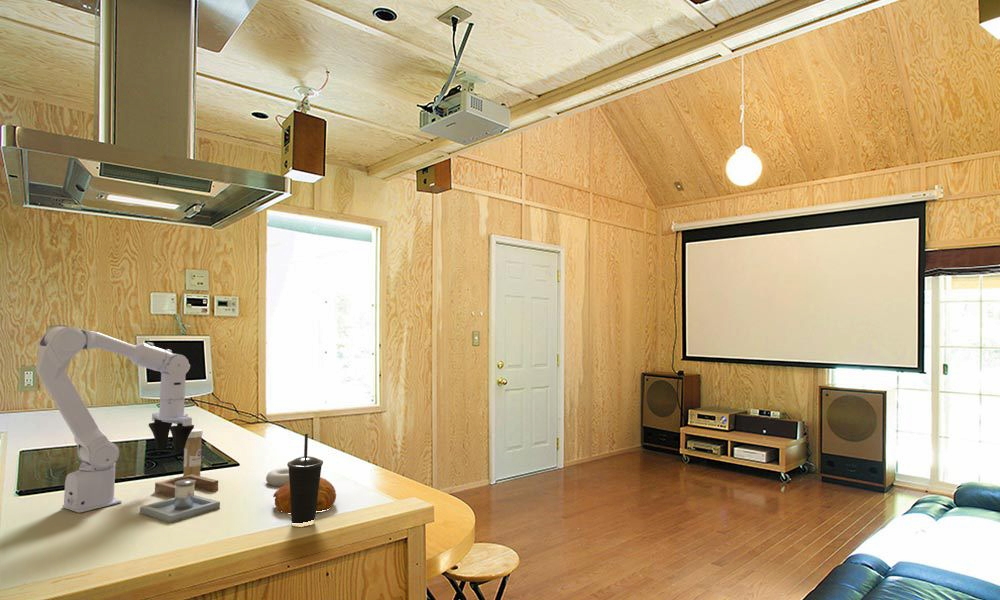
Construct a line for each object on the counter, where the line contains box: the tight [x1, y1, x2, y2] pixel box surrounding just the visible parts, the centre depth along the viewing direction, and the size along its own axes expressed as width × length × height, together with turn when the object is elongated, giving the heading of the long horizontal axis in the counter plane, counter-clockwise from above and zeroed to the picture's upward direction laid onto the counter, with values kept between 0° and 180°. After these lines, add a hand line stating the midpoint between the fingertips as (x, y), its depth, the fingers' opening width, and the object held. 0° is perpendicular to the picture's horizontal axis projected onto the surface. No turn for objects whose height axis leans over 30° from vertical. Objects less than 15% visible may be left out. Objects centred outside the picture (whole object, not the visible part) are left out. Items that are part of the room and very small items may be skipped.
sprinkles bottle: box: [182, 428, 203, 476], centre depth 165 cm, size 5×5×14 cm
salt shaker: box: [174, 479, 196, 510], centre depth 137 cm, size 4×4×6 cm
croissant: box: [273, 476, 337, 514], centre depth 141 cm, size 14×16×8 cm
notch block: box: [154, 474, 219, 498], centre depth 151 cm, size 10×12×2 cm
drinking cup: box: [286, 433, 324, 524], centre depth 129 cm, size 8×8×20 cm
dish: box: [139, 494, 221, 524], centre depth 136 cm, size 12×12×2 cm
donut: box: [265, 467, 289, 487], centre depth 161 cm, size 10×4×10 cm
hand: (170, 450), depth 152 cm, fingers open, 7 cm apart
